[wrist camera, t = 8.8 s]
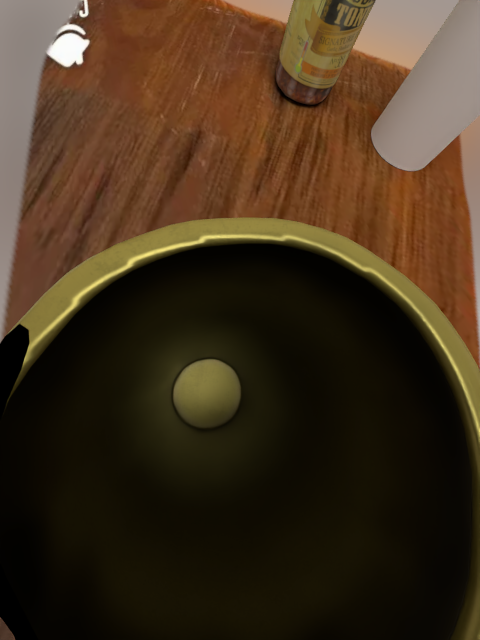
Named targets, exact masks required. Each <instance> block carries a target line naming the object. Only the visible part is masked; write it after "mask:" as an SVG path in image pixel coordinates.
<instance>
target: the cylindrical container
mask: <svg viewBox="0 0 480 640" xmlns="http://www.w3.org/2000/svg"><path fill="white" fill-rule="evenodd" d="M479 115H480V0H459V2H458V3H457V5H456V6H455V8H454V9H453V11H452V12H451V14H450V15H449V16H448V18H447V19H446V21H445V22H444V24H443V25H442V27H441V28H440V30H439V31H438V32H437V34H436V35H435V37H434V38H433V40H432V41H431V43H430V44H429V46H428V47H427V48H426V50H425V52H424V53H423V55H422V56H421V57H420V59H419V60H418V62H417V63H416V64H415V66H414V67H413V69H412V70H411V72H410V73H409V75H408V76H407V78H406V79H405V80H404V82H403V83H402V85H401V86H400V88H399V89H398V91H397V92H396V94H395V95H394V96H393V98H392V99H391V101H390V102H389V104H388V105H387V107H386V108H385V110H384V111H383V112H382V114H381V115H380V117H379V118H378V120H377V121H376V123H375V124H374V126H373V127H372V130H371V138H372V142H373V145H374V147H375V149H376V150H377V152H378V153H379V154H380V156H381V157H382V158H383V159H384V160H386V161H387V162H388V163H390V164H391V165H393V166H395V167H397V168H399V169H402V170H406V171H417V170H420V169H422V168H424V167H425V166H426V165H427V164H428V163H429V162H430V161H432V160H433V159H434V158H435V157H436V156H437V155H438V154H439V153H440V152H441V151H442V150H443V149H444V148H445V147H446V146H447V145H449V144H450V143H451V142H452V141H453V140H454V139H455V138H456V137H457V136H458V135H459V134H460V133H461V132H462V131H463V130H464V129H465V128H466V127H468V126H469V125H470V124H471V123H472V122H473V121H474V120H475V119H476V118H477V117H478V116H479Z"/></svg>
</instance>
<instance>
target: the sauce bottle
mask: <svg viewBox="0 0 480 640" xmlns="http://www.w3.org/2000/svg"><path fill="white" fill-rule="evenodd" d="M374 3H375V0H294V1H293V5H292V8H291V12H290V15H289V19H288V23H287V26H286V30H285V34H284V38H283V41H282V45H281V48H280V60H279V62H278V64H277V68H276V82H277V84H278V86H279V88H280V89H281V91H282V92H283V93H284V94H285V95H286V96H287V97H289V98H291V99H293V100H295V101H296V102H300V103H303V104H310V105H313V104H317V103H320V102H321V101H323V100H324V99H325V98H326V96H327V95H328V94H329V93H330V91H331V89H332V86H333V85H334V84H335V83H336V81H337V79H338V77H339V75H340V73H341V71H342V69H343V67H344V65H345V63H346V60H347V58H348V56H349V54H350V52H351V50H352V48H353V46H354V44H355V42H356V39H357V37H358V35H359V33H360V31H361V29H362V27H363V25H364V22H365V21H366V19H367V17H368V15H369V13H370V11H371V9H372V7H373V5H374Z"/></svg>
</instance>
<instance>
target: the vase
mask: <svg viewBox="0 0 480 640" xmlns="http://www.w3.org/2000/svg"><path fill="white" fill-rule="evenodd" d="M0 617H1V618H2V619H3V621H4V622H5V624H6V625H7V626H8V628H9V629H10V631H11V632H12V633H13V635H14V637H15V640H480V371H479V368H478V366H477V364H476V362H475V360H474V359H473V357H472V355H471V353H470V352H469V350H468V348H467V346H466V345H465V343H464V342H463V340H462V339H461V337H460V336H459V334H458V333H457V332H456V330H455V329H454V327H453V326H452V324H451V323H450V322H449V320H448V319H447V318H446V317H445V315H444V314H443V313H442V311H441V310H440V309H439V308H438V306H437V305H436V304H435V303H434V302H433V301H432V300H431V299H430V298H429V297H428V296H427V295H426V294H425V293H424V292H423V291H422V290H421V289H419V288H418V287H417V286H416V285H415V284H414V283H413V282H411V281H410V280H409V279H408V278H407V277H406V276H404V275H403V274H402V273H400V272H399V271H397V270H396V269H395V268H393V267H392V266H390V265H389V264H387V263H386V262H385V261H383V260H382V259H380V258H379V257H377V256H376V255H374V254H373V253H371V252H370V251H369V250H367V249H366V248H364V247H362V246H360V245H358V244H357V243H355V242H353V241H351V240H350V239H348V238H346V237H344V236H341V235H338V234H336V233H333V232H330V231H328V230H325V229H322V228H318V227H315V226H311V225H307V224H304V223H300V222H296V221H289V220H283V219H276V218H217V219H204V220H193V221H188V222H183V223H178V224H173V225H169V226H166V227H163V228H160V229H157V230H154V231H151V232H148V233H145V234H143V235H140V236H137V237H135V238H132V239H129V240H127V241H124V242H121V243H119V244H116V245H114V246H112V247H111V248H109V249H107V250H105V251H103V252H101V253H99V254H97V255H95V256H93V257H91V258H89V259H87V260H86V261H84V262H83V263H81V264H80V265H78V266H77V267H75V268H74V269H72V270H71V271H69V272H68V273H67V274H66V275H64V276H63V277H62V278H61V279H60V280H59V281H58V282H57V283H56V284H55V285H53V286H52V287H51V288H50V289H49V290H48V291H47V292H46V293H45V294H44V295H43V296H42V297H41V298H40V299H39V300H38V301H37V302H36V303H35V304H34V306H33V307H32V308H31V309H30V310H29V311H28V312H27V313H26V314H25V315H24V316H23V317H22V318H21V320H20V321H19V322H18V323H17V324H16V325H15V326H14V327H13V328H12V329H11V330H10V332H9V333H8V334H7V335H6V336H5V337H4V339H3V340H2V342H1V343H0Z"/></svg>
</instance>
